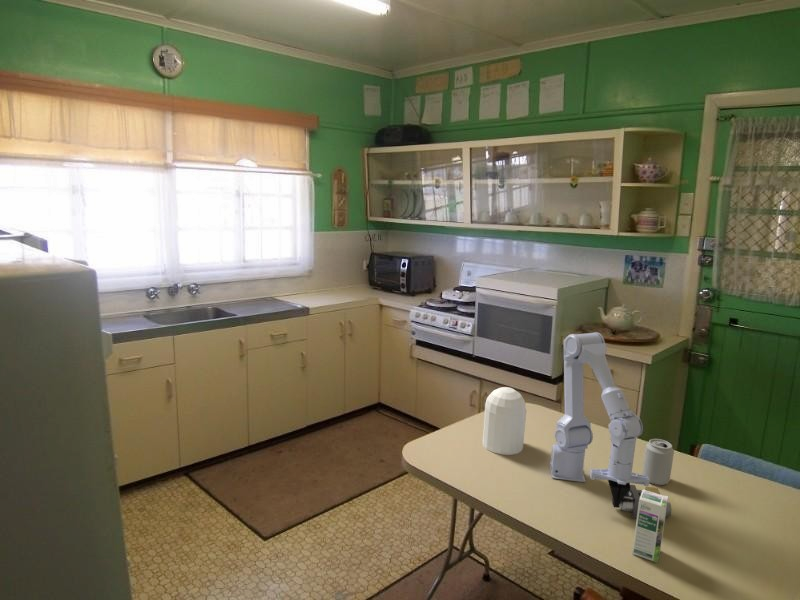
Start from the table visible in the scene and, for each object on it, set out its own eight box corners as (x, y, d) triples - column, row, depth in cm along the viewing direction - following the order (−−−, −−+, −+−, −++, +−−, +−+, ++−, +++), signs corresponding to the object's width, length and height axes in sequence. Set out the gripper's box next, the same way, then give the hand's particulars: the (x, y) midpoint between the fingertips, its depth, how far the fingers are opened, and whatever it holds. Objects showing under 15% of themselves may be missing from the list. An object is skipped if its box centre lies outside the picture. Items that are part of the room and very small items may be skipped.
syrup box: (631, 554, 128) (638, 499, 125) (635, 541, 133) (642, 487, 130) (657, 563, 125) (666, 507, 122) (660, 549, 130) (668, 495, 127)
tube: (622, 513, 144) (623, 500, 143) (619, 505, 148) (620, 493, 147) (670, 520, 142) (672, 507, 141) (666, 511, 145) (668, 499, 145)
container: (474, 445, 179) (478, 388, 175) (494, 432, 190) (498, 378, 185) (511, 459, 171) (516, 399, 167) (529, 444, 182) (535, 388, 177)
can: (672, 488, 157) (678, 450, 155) (644, 484, 159) (650, 447, 156) (665, 475, 164) (670, 438, 162) (639, 472, 166) (644, 435, 163)
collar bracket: (625, 517, 142) (628, 498, 141) (617, 497, 152) (620, 478, 151) (666, 523, 140) (669, 503, 139) (655, 502, 150) (658, 483, 149)
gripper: (595, 463, 140) (589, 510, 143) (654, 470, 138) (647, 517, 141) (591, 450, 147) (585, 495, 150) (647, 457, 145) (641, 502, 147)
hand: (615, 505), depth 146 cm, fingers closed
